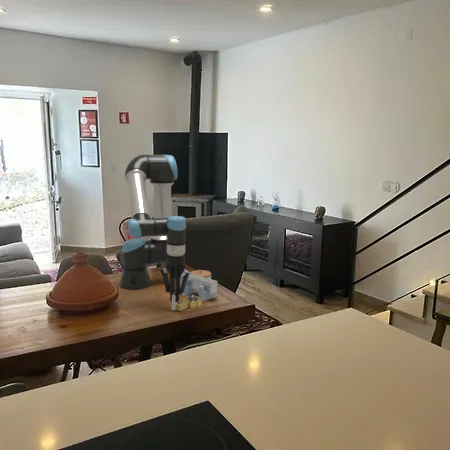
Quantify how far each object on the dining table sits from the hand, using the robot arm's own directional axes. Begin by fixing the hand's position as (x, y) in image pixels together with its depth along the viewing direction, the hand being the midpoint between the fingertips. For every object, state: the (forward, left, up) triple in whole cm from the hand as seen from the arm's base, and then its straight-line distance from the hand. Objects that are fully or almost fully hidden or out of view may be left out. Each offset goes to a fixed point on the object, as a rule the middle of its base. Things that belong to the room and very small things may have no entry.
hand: (174, 308), depth 184 cm
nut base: (0, +10, -2) cm, 10 cm away
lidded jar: (-16, +31, -2) cm, 35 cm away
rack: (-6, +20, -2) cm, 21 cm away
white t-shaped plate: (-7, +20, +3) cm, 21 cm away
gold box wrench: (+1, +7, -1) cm, 7 cm away
